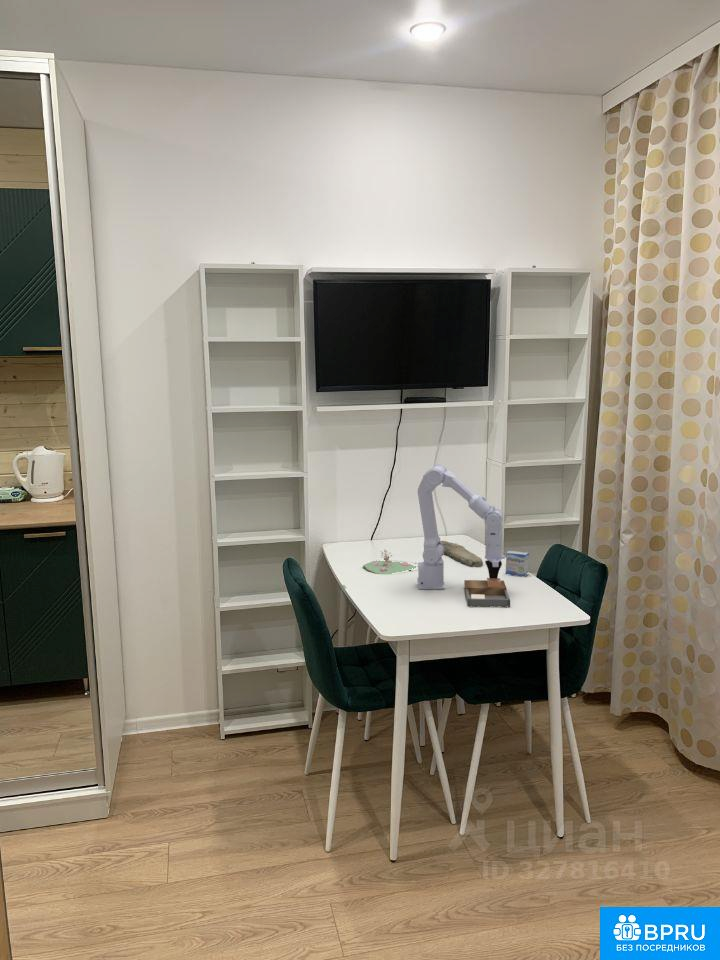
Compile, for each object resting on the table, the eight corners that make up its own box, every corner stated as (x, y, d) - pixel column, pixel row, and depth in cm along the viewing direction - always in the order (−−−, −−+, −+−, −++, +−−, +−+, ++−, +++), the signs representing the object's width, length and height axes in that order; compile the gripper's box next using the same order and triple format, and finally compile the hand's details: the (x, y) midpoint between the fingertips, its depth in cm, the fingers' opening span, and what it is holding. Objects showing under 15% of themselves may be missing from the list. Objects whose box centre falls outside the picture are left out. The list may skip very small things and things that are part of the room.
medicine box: (505, 574, 285) (505, 552, 283) (508, 571, 289) (509, 549, 287) (525, 577, 281) (526, 554, 280) (528, 574, 285) (529, 552, 284)
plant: (418, 559, 310) (418, 538, 308) (432, 573, 290) (432, 550, 288) (359, 563, 305) (358, 542, 304) (369, 577, 285) (368, 554, 284)
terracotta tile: (487, 587, 260) (488, 581, 259) (486, 583, 264) (486, 577, 264) (501, 587, 259) (501, 581, 259) (499, 583, 264) (499, 578, 263)
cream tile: (471, 594, 255) (471, 599, 255) (471, 598, 250) (471, 604, 251) (484, 594, 254) (484, 600, 255) (484, 598, 250) (484, 604, 250)
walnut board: (465, 596, 260) (465, 587, 260) (464, 588, 269) (464, 580, 268) (506, 596, 259) (506, 588, 258) (503, 588, 268) (503, 580, 267)
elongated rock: (466, 572, 294) (489, 571, 297) (468, 559, 293) (490, 558, 296) (428, 547, 326) (449, 546, 329) (429, 535, 325) (449, 534, 328)
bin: (467, 606, 249) (467, 599, 249) (465, 596, 260) (465, 589, 260) (510, 607, 248) (510, 599, 248) (506, 596, 259) (506, 589, 259)
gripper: (507, 549, 255) (507, 587, 258) (502, 539, 270) (502, 575, 272) (486, 549, 256) (486, 587, 258) (483, 538, 270) (482, 575, 272)
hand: (493, 581), depth 265 cm, fingers closed
